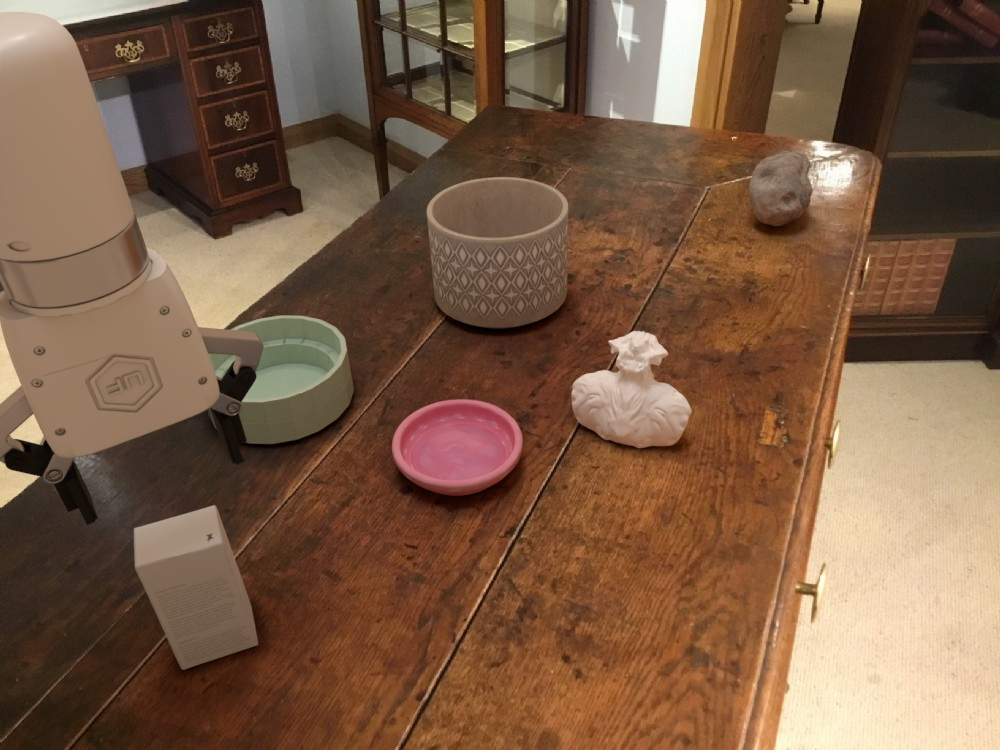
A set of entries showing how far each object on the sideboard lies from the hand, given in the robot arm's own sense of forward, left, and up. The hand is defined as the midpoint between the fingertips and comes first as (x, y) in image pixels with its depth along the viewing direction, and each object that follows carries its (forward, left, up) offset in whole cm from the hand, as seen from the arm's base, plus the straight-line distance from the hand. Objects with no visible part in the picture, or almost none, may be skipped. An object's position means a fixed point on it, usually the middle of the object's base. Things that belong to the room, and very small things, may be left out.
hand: (163, 480), depth 57 cm
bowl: (+15, +26, -17) cm, 34 cm away
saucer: (+26, +7, -17) cm, 32 cm away
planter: (+45, +30, -17) cm, 56 cm away
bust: (+43, +2, -17) cm, 46 cm away
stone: (+89, +26, -17) cm, 94 cm away
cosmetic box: (0, 0, -17) cm, 17 cm away
